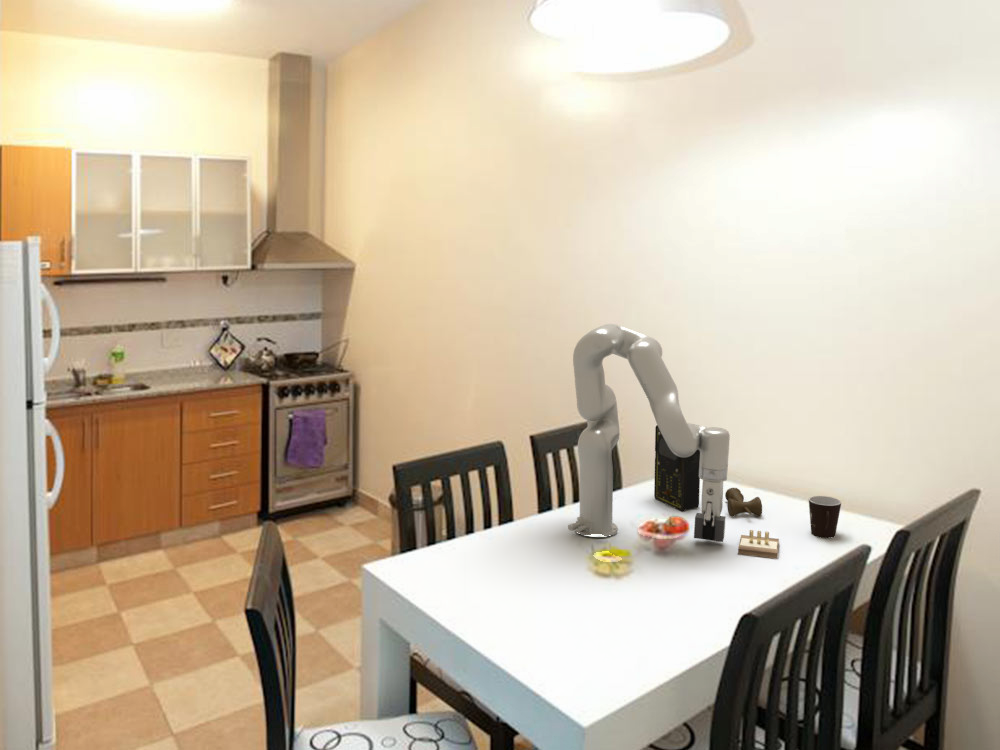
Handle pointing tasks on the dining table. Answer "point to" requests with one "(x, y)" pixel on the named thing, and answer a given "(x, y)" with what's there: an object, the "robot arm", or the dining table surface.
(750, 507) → the kendama
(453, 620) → the dining table surface
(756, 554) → the pin board
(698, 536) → the plug housing
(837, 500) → the coffee mug
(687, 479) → the voltmeter
